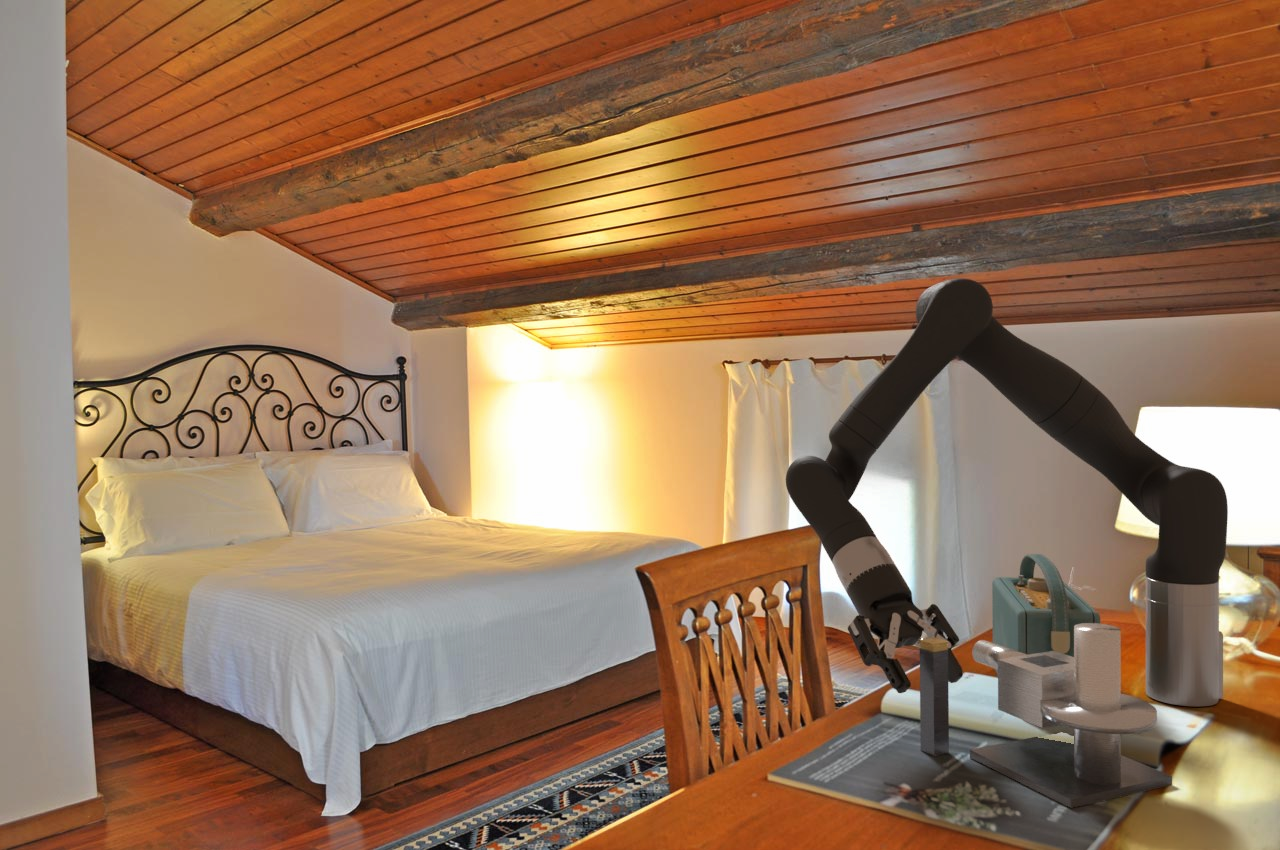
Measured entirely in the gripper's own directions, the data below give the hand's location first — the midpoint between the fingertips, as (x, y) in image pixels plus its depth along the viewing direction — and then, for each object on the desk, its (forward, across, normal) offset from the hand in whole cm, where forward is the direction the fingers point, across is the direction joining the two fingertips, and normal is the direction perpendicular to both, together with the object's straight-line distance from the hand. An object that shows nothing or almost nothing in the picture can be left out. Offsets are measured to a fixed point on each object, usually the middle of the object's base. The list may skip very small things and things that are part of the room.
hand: (932, 684), depth 124 cm
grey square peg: (+6, 0, +6) cm, 8 cm away
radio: (0, +30, +12) cm, 32 cm away
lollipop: (-17, +63, +29) cm, 71 cm away
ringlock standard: (+13, +9, -2) cm, 16 cm away
